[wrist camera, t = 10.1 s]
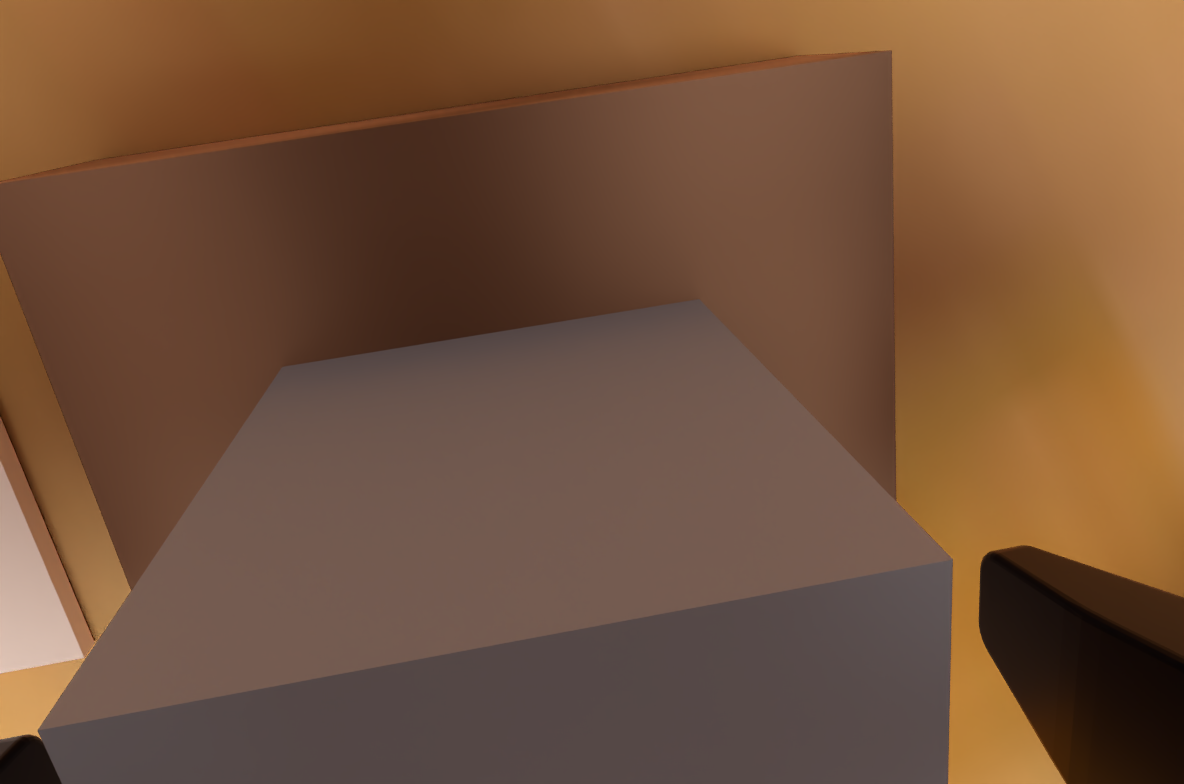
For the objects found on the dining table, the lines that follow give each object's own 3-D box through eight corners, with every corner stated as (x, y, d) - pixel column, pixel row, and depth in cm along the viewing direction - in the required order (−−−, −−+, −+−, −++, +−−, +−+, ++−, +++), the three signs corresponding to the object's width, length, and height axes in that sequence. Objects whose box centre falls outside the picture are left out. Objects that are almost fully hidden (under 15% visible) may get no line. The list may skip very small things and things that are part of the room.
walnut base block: (799, 55, 12) (891, 50, 10) (825, 626, 16) (898, 742, 13) (93, 160, 12) (-25, 186, 9) (285, 731, 15) (241, 876, 13)
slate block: (698, 299, 10) (953, 559, 5) (729, 638, 12) (940, 1116, 7) (281, 367, 10) (37, 730, 5) (376, 705, 12) (285, 1267, 6)
